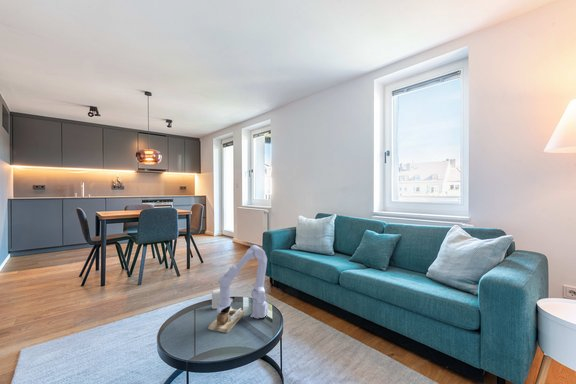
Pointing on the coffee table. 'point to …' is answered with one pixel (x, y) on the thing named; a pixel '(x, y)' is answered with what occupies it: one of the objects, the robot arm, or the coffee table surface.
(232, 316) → the channel
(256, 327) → the coffee table surface
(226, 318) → the walnut block
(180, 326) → the coffee table surface
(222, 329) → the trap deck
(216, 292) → the photo printer
